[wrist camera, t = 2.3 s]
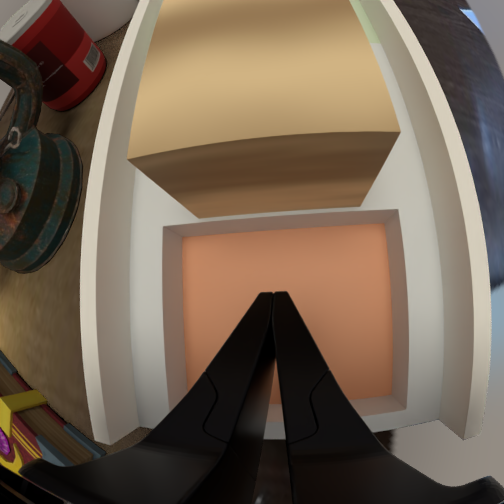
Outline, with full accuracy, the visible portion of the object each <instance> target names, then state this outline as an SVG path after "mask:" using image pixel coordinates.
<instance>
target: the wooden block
mask: <svg viewBox="0 0 504 504" xmlns="http://www.w3.org/2000/svg"><path fill="white" fill-rule="evenodd" d="M400 133H401V130H400V126H399V123H398V120H397V116H396V113H395V110H394V107H393V104H392V101H391V98H390V95H389V92H388V89H387V86H386V83H385V81H384V78H383V75H382V73H381V70H380V67H379V65H378V62H377V60H376V57H375V55H374V52H373V50H372V48H371V45H370V43H369V41H368V38H367V36H366V34H365V32H364V30H363V27H362V25H361V23H360V21H359V19H358V17H357V15H356V13H355V11H354V9H353V7H352V5H351V3H350V1H349V0H163V3H162V6H161V9H160V12H159V15H158V18H157V21H156V24H155V28H154V31H153V35H152V38H151V42H150V45H149V49H148V53H147V56H146V60H145V64H144V68H143V73H142V77H141V81H140V86H139V90H138V95H137V100H136V105H135V110H134V116H133V121H132V127H131V133H130V139H129V146H128V153H127V160H128V161H129V162H130V163H131V164H133V165H134V166H135V167H136V168H137V169H139V170H140V171H141V172H142V173H144V174H145V175H146V176H147V177H148V178H150V179H151V180H152V181H153V182H154V183H156V184H157V185H158V186H159V187H160V188H162V189H163V190H164V191H165V192H167V193H168V194H169V195H170V196H171V197H173V198H174V199H175V200H176V201H178V202H179V203H180V204H181V205H182V206H184V207H185V208H186V209H187V210H188V211H190V212H191V213H192V214H193V215H195V216H196V217H197V218H198V219H201V218H211V217H222V216H233V215H245V214H257V213H269V212H283V211H297V210H312V209H328V208H346V207H360V206H361V204H362V202H363V201H364V199H365V197H366V195H367V194H368V192H369V190H370V188H371V187H372V185H373V183H374V181H375V180H376V178H377V176H378V174H379V172H380V170H381V169H382V167H383V165H384V163H385V161H386V159H387V158H388V156H389V154H390V152H391V150H392V148H393V146H394V144H395V142H396V141H397V139H398V137H399V135H400Z"/></svg>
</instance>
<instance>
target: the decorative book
mask: <svg viewBox="0 0 504 504" xmlns="http://www.w3.org/2000/svg"><path fill="white" fill-rule="evenodd" d="M16 372H17V370H16V369H15V368H14V367H13V365H12V364H11V363H10V362H9V361H8V359H7V358H6V357H5V356H4V354H3V353H2V352H1V351H0V464H1V465H3V466H4V467H6V468H8V469H10V470H11V471H13V472H15V473H17V474H18V475H20V474H19V473H18V470H19V469H20V468H21V467H22V466H23V465H24V464H26V463H28V462H30V461H32V460H34V459H36V458H42V459H44V460H46V461H48V462H50V463H53V464H55V465H58V466H74V465H79V464H82V463H85V462H88V461H91V460H94V459H97V458H100V457H103V456H105V453H106V452H105V451H103V450H102V449H101V448H99V447H98V446H97V445H95V444H94V443H93V442H92V441H90V440H89V439H88V438H86V437H85V436H84V435H83V434H82V433H80V432H79V431H78V430H77V429H75V428H74V427H73V426H72V425H71V424H70V423H69V424H66V423H65V422H64V421H63V420H62V419H61V418H60V417H59V416H57V415H56V414H55V413H54V412H53V411H52V410H51V409H50V408H49V407H48V406H47V400H46V399H45V398H44V397H43V396H42V395H41V394H40V393H39V392H38V391H37V390H36V389H35V390H31V389H30V388H29V387H28V385H27V384H26V383H25V382H24V381H23V380H22V379H21V378H20V377H19V375H18V374H17V373H16ZM20 476H22V475H20ZM22 477H23V476H22ZM23 478H25V477H23ZM25 479H26V478H25ZM27 480H28V479H27ZM29 481H30V480H29ZM30 482H31V481H30ZM32 483H33V482H32ZM37 486H38V485H37ZM39 487H40V486H39ZM44 490H45V489H44ZM46 491H47V490H46ZM55 496H56V495H55ZM57 497H58V496H57ZM59 498H60V497H59ZM61 499H62V498H61ZM63 500H64V499H63Z"/></svg>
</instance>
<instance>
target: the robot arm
mask: <svg viewBox="0 0 504 504" xmlns="http://www.w3.org/2000/svg"><path fill="white" fill-rule="evenodd" d="M275 362H276V364H277V372H278V380H279V388H280V396H281V405H282V413H283V421H284V429H285V438H286V446H287V455H288V464H289V473H290V482H291V491H292V501H293V504H498V503H499V504H504V501H503V500H504V488H503V487H502V485H500V483H498V482H497V481H496V480H495V479H494V478H493V477H492V476H487V477H484V478H481V479H478V480H476V481H473V482H471V483H468V484H465V485H462V486H457V487H450V486H445V485H442V484H440V483H437V482H435V481H434V480H432V479H431V478H429V477H427V476H426V475H424V474H422V473H421V472H419V471H417V470H416V469H414V468H413V467H411V466H409V465H408V464H406V463H405V462H403V461H402V460H400V459H399V458H397V457H396V456H394V455H393V454H391V453H390V452H389V451H388V450H387V449H386V448H385V447H384V446H383V445H382V444H381V443H380V441H379V440H378V439H377V438H376V436H375V435H374V434H373V433H372V431H371V430H370V429H369V427H368V426H367V425H366V423H365V422H364V421H363V419H362V418H361V417H360V415H359V414H358V413H357V411H356V410H355V409H354V407H353V406H352V404H351V403H350V402H349V400H348V399H347V397H346V396H345V394H344V393H343V391H342V389H341V388H340V386H339V384H338V383H337V381H336V379H335V377H334V375H333V374H332V372H331V370H329V366H328V365H327V363H326V361H325V359H324V357H323V355H322V353H321V352H320V350H319V348H318V346H317V344H316V342H315V340H314V339H313V337H312V335H311V333H310V331H309V329H308V328H307V326H306V324H305V322H304V320H303V318H302V317H301V315H300V313H299V311H298V309H297V307H296V306H295V304H294V302H293V300H292V298H291V297H290V295H289V293H288V292H287V291H275V292H274V293H273V292H260V293H259V294H258V296H257V297H256V299H255V300H254V302H253V303H252V304H251V306H250V307H249V309H248V310H247V312H246V313H245V314H244V316H243V317H242V319H241V320H240V322H239V323H238V324H237V326H236V327H235V329H234V330H233V331H232V333H231V334H230V336H229V337H228V339H227V340H226V341H225V343H224V344H223V346H222V347H221V348H220V350H219V351H218V353H217V354H216V355H215V357H214V358H213V359H212V361H211V362H210V364H209V365H208V366H207V368H206V369H205V372H203V373H202V374H201V376H200V377H199V379H198V380H197V381H196V383H195V384H194V385H193V386H192V388H191V389H190V390H189V392H188V393H187V394H186V395H185V396H184V397H183V398H182V400H181V401H180V402H179V403H178V404H177V405H176V406H175V407H174V408H173V409H172V410H171V411H170V412H169V413H168V414H167V415H166V417H165V418H164V419H163V420H162V421H161V422H160V423H159V424H158V425H157V426H156V427H155V428H154V429H153V430H152V431H151V432H150V433H149V434H148V435H147V436H146V437H144V438H143V439H142V440H141V441H139V442H138V443H136V444H134V445H132V446H131V447H128V448H126V449H123V450H120V451H118V452H115V453H112V454H109V455H106V456H103V457H100V458H97V459H94V460H91V461H88V462H85V463H82V464H79V465H74V466H58V465H55V464H53V463H50V462H48V461H46V460H44V459H42V458H36V459H34V460H32V461H30V462H28V463H26V464H24V465H23V466H22V467H21V468H20V469H19V470H18V473H19V474H20V475H22V476H23V477H25V478H26V479H25V478H23V477H22V476H20V475H18V474H17V473H15V472H13V471H11V470H10V469H8V468H6V467H4V466H3V465H1V464H0V504H251V503H252V498H253V493H254V488H255V481H256V477H257V472H258V466H259V461H260V455H261V450H262V444H263V439H264V433H265V427H266V421H267V415H268V409H269V402H270V396H271V390H272V383H273V377H274V370H275ZM27 479H28V480H27ZM29 480H30V481H31V482H30V481H29ZM32 482H33V483H32ZM37 485H38V486H37ZM39 486H40V487H39ZM44 489H45V490H44ZM46 490H47V491H46ZM55 495H56V496H55ZM57 496H58V497H57ZM59 497H60V498H59ZM61 498H62V499H61ZM63 499H64V500H63ZM502 501H503V502H502ZM500 502H501V503H500Z"/></svg>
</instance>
